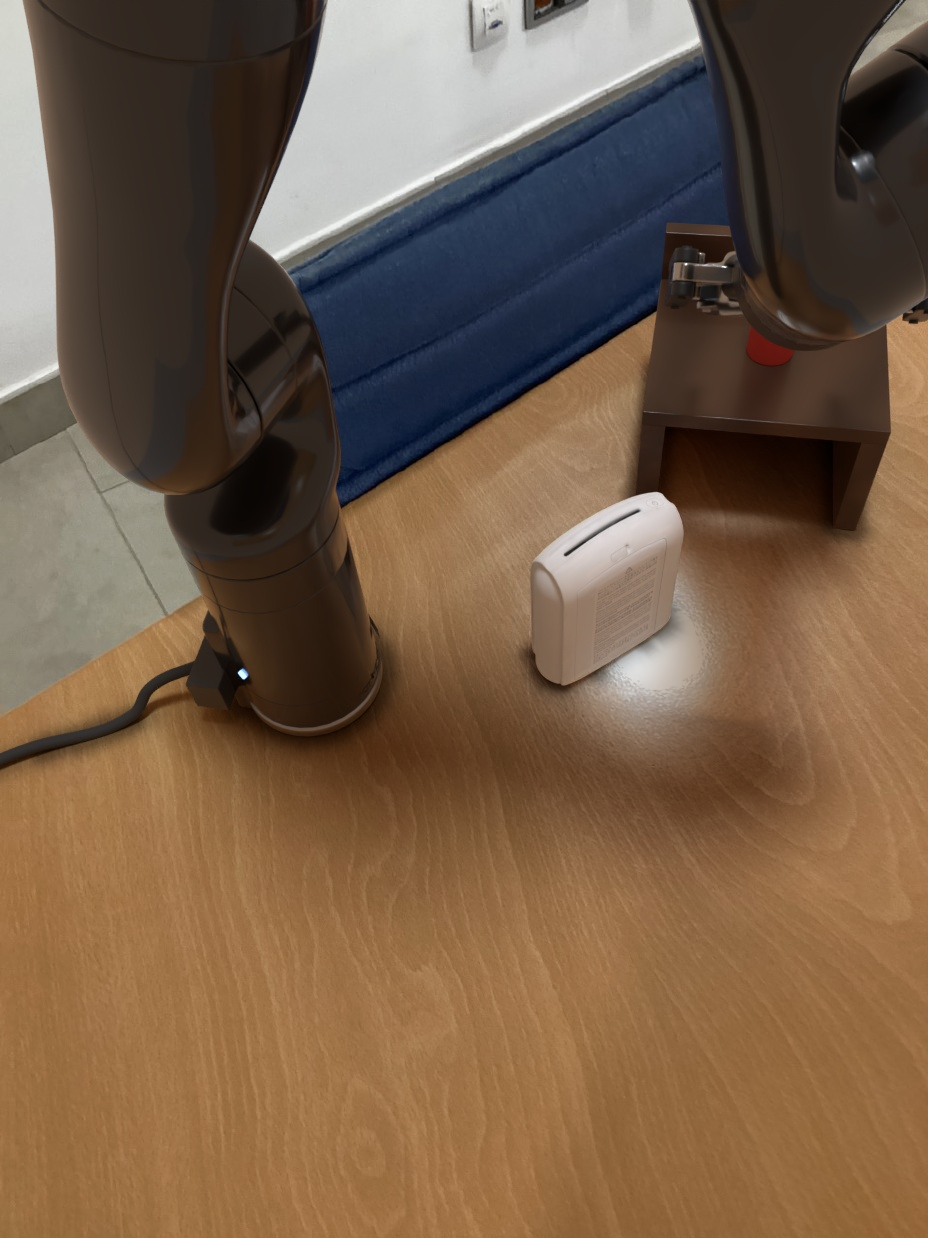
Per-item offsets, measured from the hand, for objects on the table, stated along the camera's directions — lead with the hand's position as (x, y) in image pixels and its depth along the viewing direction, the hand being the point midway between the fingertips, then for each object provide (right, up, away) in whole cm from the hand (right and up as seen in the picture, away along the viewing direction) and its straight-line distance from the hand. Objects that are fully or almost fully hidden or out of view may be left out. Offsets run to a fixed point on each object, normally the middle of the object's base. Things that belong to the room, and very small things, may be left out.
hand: (785, 301), depth 64 cm
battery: (+2, -1, +9) cm, 10 cm away
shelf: (+2, -6, +18) cm, 19 cm away
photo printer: (-10, -21, +9) cm, 25 cm away
